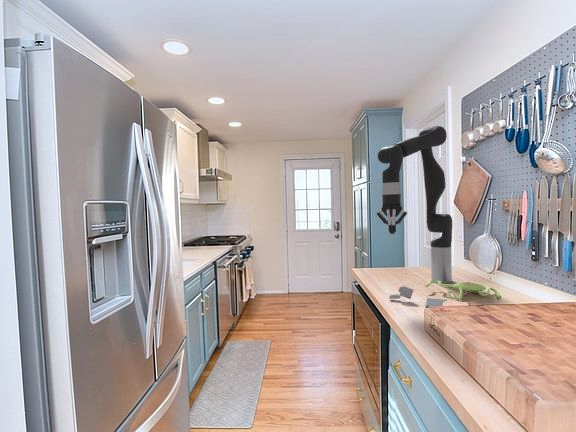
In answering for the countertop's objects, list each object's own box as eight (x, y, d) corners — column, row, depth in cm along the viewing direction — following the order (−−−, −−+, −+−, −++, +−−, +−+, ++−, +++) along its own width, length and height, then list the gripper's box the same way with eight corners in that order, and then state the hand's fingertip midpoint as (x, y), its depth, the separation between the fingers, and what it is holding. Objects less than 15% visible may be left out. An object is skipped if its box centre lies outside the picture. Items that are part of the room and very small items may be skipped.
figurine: (420, 292, 149) (420, 279, 149) (474, 287, 154) (474, 275, 153) (446, 304, 131) (446, 290, 131) (506, 298, 135) (506, 284, 135)
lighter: (413, 289, 135) (394, 281, 138) (413, 290, 133) (393, 282, 136) (408, 304, 136) (388, 297, 139) (407, 306, 135) (388, 298, 138)
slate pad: (427, 299, 137) (427, 297, 137) (468, 302, 131) (468, 301, 131) (425, 307, 127) (425, 305, 127) (470, 311, 121) (470, 310, 121)
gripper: (408, 192, 143) (409, 232, 144) (377, 194, 149) (378, 232, 150) (406, 192, 136) (407, 235, 137) (373, 194, 142) (375, 234, 143)
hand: (392, 233), depth 143 cm, fingers closed
